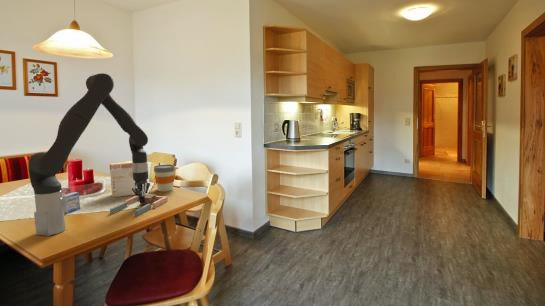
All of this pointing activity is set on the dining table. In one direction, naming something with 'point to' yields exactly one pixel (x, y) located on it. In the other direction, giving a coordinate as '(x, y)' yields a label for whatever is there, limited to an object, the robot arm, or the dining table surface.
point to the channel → (124, 205)
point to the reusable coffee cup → (164, 177)
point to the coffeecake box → (121, 178)
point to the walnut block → (149, 199)
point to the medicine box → (71, 202)
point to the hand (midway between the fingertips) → (142, 202)
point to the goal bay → (157, 203)
